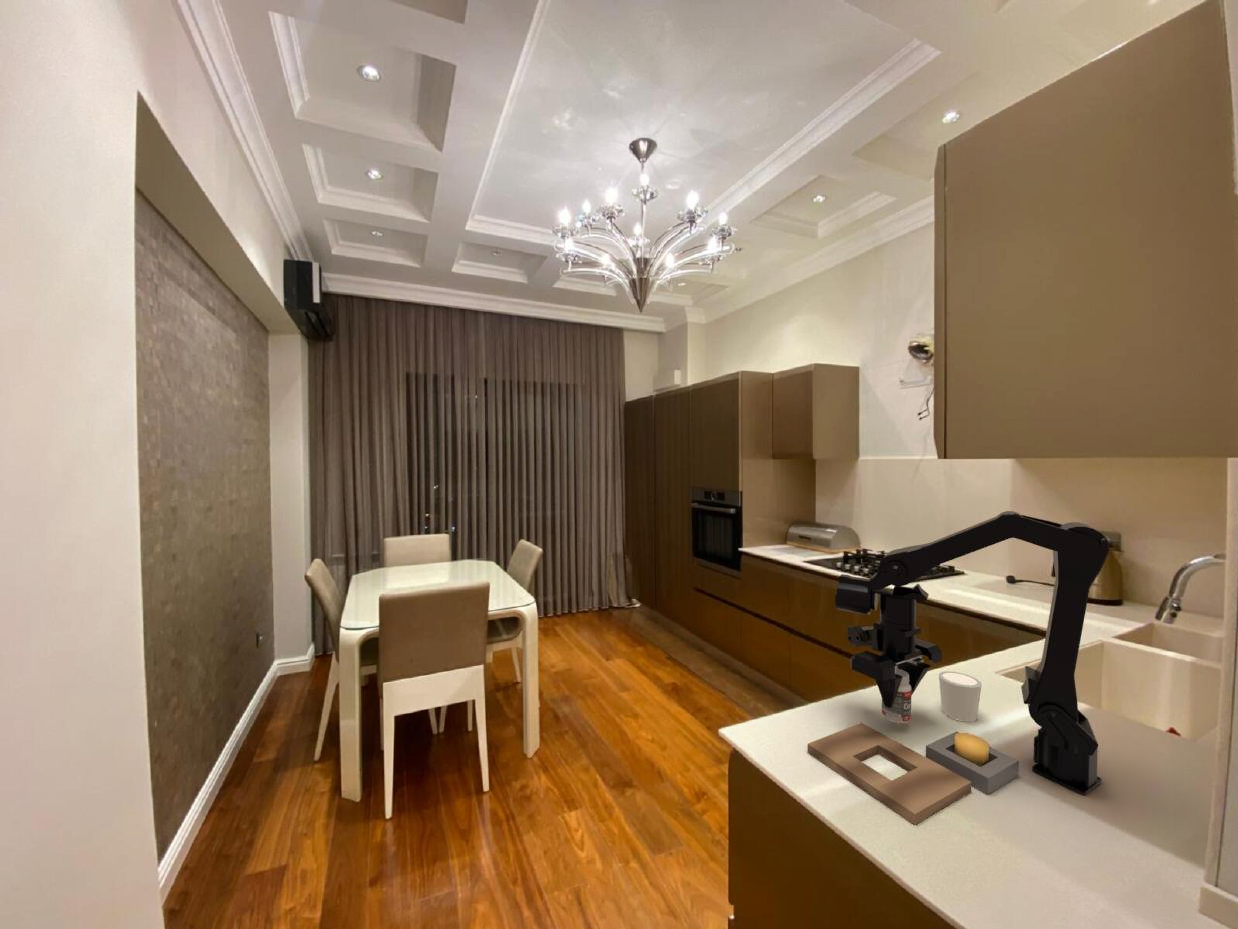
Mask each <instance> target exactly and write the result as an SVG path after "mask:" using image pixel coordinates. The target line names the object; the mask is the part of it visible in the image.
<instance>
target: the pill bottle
mask: <svg viewBox="0 0 1238 929" xmlns="http://www.w3.org/2000/svg"><path fill="white" fill-rule="evenodd" d="M896 674H898V675H900V676H903V678H902V680H901V683H900V686H899V689H898V692H897V694H896V697H895V700H894V703H893V705H892V707H891V708H888V707H886V706H885V705H884V702H883V700H882V699H881V715H882V716H883V717H884V718H885V719H886V720H888V721H890V722H894V723H897V724H908V723H910V722H911V721H912V696H911V685H910V684H909V674H908V673H907V672H906V671H904V670H901V669H898V667H896Z"/></svg>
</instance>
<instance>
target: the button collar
mask: <svg viewBox="0 0 1238 929" xmlns="http://www.w3.org/2000/svg"><path fill="white" fill-rule="evenodd" d="M957 733H960V731H954V732H952V733H950V734H947V735H945V736H943V737H941V738H939V739H937V740H935V741H933V742H931V743H929V744H926V745H925V757H926V758H928V759H930V760H932V761H934V762H936V763H937V764H939V765H941V766H943V767H945V768H947V769H948V770H950V771H952V772H954V773H956V774H958V775H960V776H961V777H963V778H965V779H967V780H969V781H971V787H973V788H975V789H977V790H978V791H980V792H982V793H984V794H986V795H987V796H989V795H990V794H992V793H993V792H995V791H998V789H1000V788H1002V787H1003V786H1006V785H1007V784H1008V783H1010V782H1011V781H1013V780H1015V779H1016V778H1018V777H1019V770H1020V769H1019V768H1020V765H1019V764H1020V761H1019V759H1016V758H1014V757H1012V756H1010V755H1008V754H1006V753H1004V752H1002V751H999V750H997V749H995V748H993V747H991V746H989V761H988V763H987V764H985V765H981V766H980V765H978V764H974V763H972V762H970V761H968V760H966V759H964V758H962V757H960V756H958V755H956V754H955V734H957Z"/></svg>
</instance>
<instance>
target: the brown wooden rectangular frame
mask: <svg viewBox="0 0 1238 929" xmlns="http://www.w3.org/2000/svg"><path fill="white" fill-rule="evenodd" d="M806 752H807V753H808V754H809V755H810V756H811V757H813V758H815V759H816V760H818V761H819V762H821V763H822V764H824V765H825V766H827V767H828V768H829V769H831V770H833V771H834V772H835V773H837V774H839V775H840V776H842V777H843V778H844V779H846V780H847V781H849V782H850V783H851V784H854V785H855V786H856V787H858V788H859V789H861V790H862V791H864V792H865V793H867V794H868V795H870V796H871V797H873V798H874V799H876V800H877V801H879V802H880V803H882V804H883V805H885V806H886V807H888V808H889V809H890V810H892V811H893V812H894V813H897V815H899V816H901V817H902V818H904V819H905V820H907V821H908V822H909V823H911V824H912V825H914V826H915V825H918V824H919V823H921V822H922V821H925V820H926V819H927V818H929V817H931V816H933V815H935V814H937V812H940V811H941V810H943V809H944V808H946V807H948V806H950V805H951V804H954V803H955V802H957V801H959V800H960V799H962V798H964V797H965V796H966V795H969V794H970V793H971V792H972V786H971V781H969V780H967V779H965V778H963V777H961V776H960V775H958V774H956V773H954V772H952V771H950V770H948V769H947V768H945V767H943V766H941V765H939V764H937V763H936V762H934V761H932V760H930V759H928V758H926V756H924V755H923V754H921V753H919V752H916V751H915V750H913V749H912V748H909V747H908V746H905V745H904V744H903V743H900V742H899V741H897V740H895V739H894V738H891V737H889V736H887V735H885V734H884V733H882V732H880V731H878V730H876V729H875V728H873V727H871V726H869V725H867V724H865V723H863V722H859V723H857V724H854V725H852V726H849V727H847V728H844V729H841V730H840V731H836V732H834V733H832V734H829V735H826V736H824V737H821V738H819V739H816V740H813V741H811V742H809V743H807V751H806ZM876 755H879V756H880V757H881V756H882V757H883V758H885V759H886V760H888V761H889V762H891V763H893V764H895V765H897V766H898V767H900V768H901V769H903V770H905V771H907V772H906V773H904V774H902V775H900V776H898V777H896V778H894V779H892V780H891V779H890V778H888V777H887V776H885V775H883V774H882V773H881V772H878V771H877V770H875V769H874V768H872V767H871V766H869V765H867V764H866V763H864V762H863V761H865V760H867V759H870V758H871V757H874V756H876Z"/></svg>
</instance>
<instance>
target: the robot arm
mask: <svg viewBox="0 0 1238 929" xmlns="http://www.w3.org/2000/svg"><path fill="white" fill-rule="evenodd" d="M1009 539H1016V540H1019V541H1023V542H1027V543H1029V544H1032V545H1035V546H1038V547H1040V548H1044V549H1048V550H1050V551H1052V560H1053V566H1054V575H1055V581H1054V586H1053V590H1052V598H1051V603H1050V610H1049V613H1048V614H1049V615H1048V620H1047V627H1046V633H1045V638H1044V644H1043V650H1042V656H1041V660H1040V662H1039V664H1038V665H1037V667H1036V668H1035V669H1034V668H1032V667H1031V666H1030V667H1029V666H1027V665H1026V666H1024V670H1025V680H1024V682H1023V684H1022V685H1020V689H1021V694H1022V700H1023V704H1025V705H1027V708H1028V714H1029V716H1030V718H1031V719H1032V720H1033V722H1034V723H1035V724H1036V725H1038V726H1039V727H1040V728H1039V729H1037V735H1036V736H1034V737H1033V762H1034V763H1035V764H1034V765H1032V766H1031V770H1032V771H1033V772H1034V773H1037V774H1039V775H1041V776H1043V777H1045V778H1047V779H1049V780H1051V781H1054V782H1056V783H1058V784H1060V785H1062V786H1064V787H1067V788H1069V789H1071V790H1072V791H1075V792H1076V793H1079V794H1081V795H1087V794H1089V793H1090V792H1091V791H1092V790H1093V789H1095V788H1096V787H1097V786H1099V785H1100V784H1101V783H1102V777H1100V776H1098V754H1099V753H1098V752H1099V750H1098V749H1099V744H1098V740H1097V738H1096V735H1095V733H1094V731H1093V728H1092V725H1091V723H1090V720H1089V719H1088V718H1087V717H1086V716H1085V714H1084V713H1082V712H1081V710H1079V705H1078V696H1077V688H1076V680H1075V673H1076V667H1077V662H1078V657H1079V650H1080V646H1081V639H1082V635H1083V634H1082V632H1083V628H1084V622H1085V616H1086V611H1087V605H1088V600H1089V594H1090V589H1091V587H1092V585H1093V584H1094V582H1095V581H1096V579H1097V578H1098V576H1099V574H1100V573H1101V571H1102V569H1103V566H1104V564H1105V562H1106V560H1107V559H1108V558H1107V557H1108V556H1109V553H1110V543H1109V540H1108V539H1107V537H1106V536H1104V535H1103V533H1102V532H1101V531H1099V530H1097V529H1095V528H1094V527H1093V526H1090V525H1088V523H1087V524H1086V523H1083V522H1078V521H1072V522H1066V523H1063V524H1062V523H1059V522H1054V521H1051V520H1046V519H1042V518H1036V517H1033V516H1028V515H1025V514H1024V515H1023V514H1020V512H1016V511H1013V510H1005V511H1002V512H1000V513H999V514H998V515H996V516H994V517H991V518H989V519H986V520H984V521H981V522H978V523H976V524H974V525H971V526H969V527H966V528H964V529H961V530H959V531H956V532H954V533H952V534H948V535H947V536H946V535H945V536H943V537H942V538H939V539H936V540H933V541H931V542H928V543H923V544H918V545H917V544H916V545H911V546H907V547H906V546H905V547H901V548H896V549H893V550H891V551H889V552H887V553H886V554H885V556H883V557H882V559H880V562H879V565H878V572H876V573H874V574H873V575H872V576H870V578H865V577H859V576H858V577H857V576H852V575H849V574H844V573H842V574H840V575H839V576H838V582H837V586H836V593H835V596H834V602H835V608H836V610H838V611H844V612H850V613H855V614H862V615H867V616H869V615H871V612H872V611H877V610H878V602H879V610H880V611H879V621H875V622H874V623H873V626H861V625H850V626H847V627H846V628H847V630H846V639H847V640H848V642H849V644H851V645H853V647H854V648H860V647H871V648H870V649H871V650H872V651H875V652H880V654H877V653H874V652H872V651H870V650H865V651H863V652H858V653H855V654H853V655H851V657H850V669H851V670H853V671H855V672H857V673H859V674H861V675H864V676H866V677H868V678H871V679H873V680H875V683H876V685H877V688H878V691H879V694H880V696H881V701H882V700H883V702H884V705H885V706H886V707H888V708H891V707H892V705H893V703H894V700H895V697H896V694H897V692H898V689H899V686H900V683H901V680H902V678H903V676H900V675H898V674H896V668H897V669H901V670H904V671H906V672H907V673H908V674H909V684H910V685H911V697H912V696H913V694H914V692H915V691H916V689H917V687H919V685H920V683H921V682H922V680H923V679H924V677H925V675H927V672H928V671H929V670H931V669H932V665H930V664H928V663H926V662H924V658H923V656H925V657H928V661H929V662H930V663H931V664H933V665H935V664H937V663H940V662H942V661H943V651H942V649H941V648H940V647H939V645H938V644H936V643H933V642H930V641H926V640H924V639H920V638H917V637H916V636H917V635H919V634H922V628H921V627H919V626H917V624H916V623H917V622H916V620H917V614H916V613H917V601H921V602H926V601H927V600H928V598H929V596H930V595H929V593H928V592H927V591H925V590H924V589H923V587H921V585H920V583H917V584H915V585H914V586H912V587H910V586H909V587H908V586H907V585H909V584H910V583H912V582H914V581H916V580H917V579H919V578H921V577H923V576H924V575H926V574H927V573H928V572H930V571H932V570H933V569H935V568H936V567H938V566H940V565H942V564H944V563H947V562H950V561H953V560H955V559H957V558H961V557H963V556H966V555H968V554H969V555H970V554H971V553H974V552H977V551H979V550H982V549H986V548H988V547H990V546H994V545H995V544H998V543H1001V542H1003V541H1006V540H1009ZM890 586H894V587H893V588H888V587H890ZM879 598H880V599H879ZM879 600H880V601H879Z"/></svg>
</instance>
